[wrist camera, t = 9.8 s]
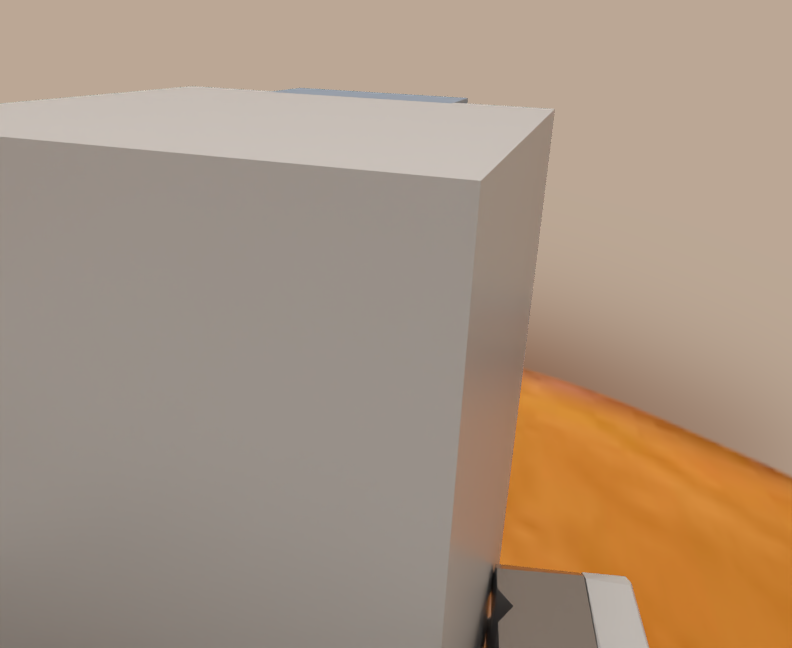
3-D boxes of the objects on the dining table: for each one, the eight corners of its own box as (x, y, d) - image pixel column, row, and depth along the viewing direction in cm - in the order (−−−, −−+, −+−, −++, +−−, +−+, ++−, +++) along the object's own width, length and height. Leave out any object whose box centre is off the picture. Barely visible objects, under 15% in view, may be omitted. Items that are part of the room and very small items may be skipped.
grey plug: (83, 1047, 8) (-183, 119, 4) (261, 714, 12) (224, 83, 8) (394, 1203, 7) (481, 180, 3) (475, 783, 11) (560, 103, 7)
